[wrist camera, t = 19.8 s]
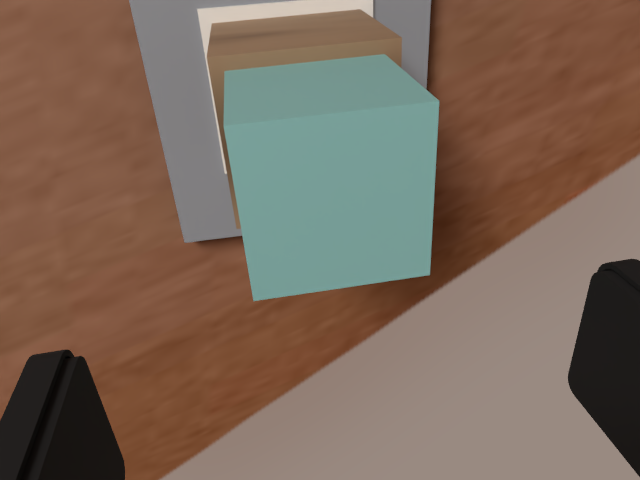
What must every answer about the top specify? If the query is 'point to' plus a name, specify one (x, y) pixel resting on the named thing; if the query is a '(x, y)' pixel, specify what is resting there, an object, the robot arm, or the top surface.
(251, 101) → the teal block
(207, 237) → the pad
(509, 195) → the top surface
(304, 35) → the walnut block
